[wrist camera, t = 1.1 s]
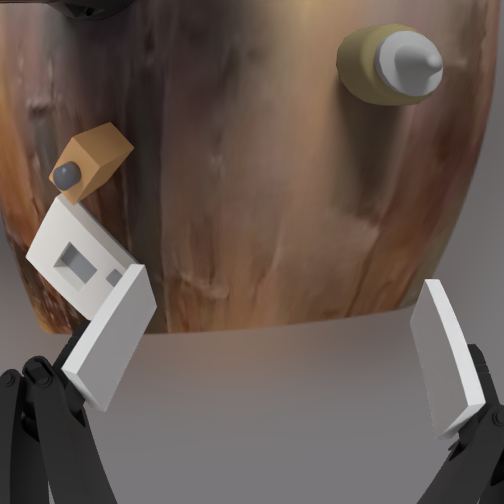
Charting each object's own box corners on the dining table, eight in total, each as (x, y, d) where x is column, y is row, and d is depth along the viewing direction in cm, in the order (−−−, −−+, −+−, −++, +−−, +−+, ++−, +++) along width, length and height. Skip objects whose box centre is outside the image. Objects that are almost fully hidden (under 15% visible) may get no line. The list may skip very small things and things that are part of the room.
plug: (84, 157, 38) (38, 184, 30) (110, 121, 35) (61, 141, 26) (107, 181, 39) (63, 213, 31) (134, 147, 36) (89, 173, 28)
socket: (35, 248, 49) (24, 258, 46) (68, 188, 41) (54, 197, 38) (99, 313, 55) (91, 325, 52) (147, 270, 47) (138, 283, 44)
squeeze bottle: (405, 104, 28) (490, 138, 13) (335, 101, 30) (366, 127, 15) (402, 35, 24) (485, 11, 9) (329, 31, 26) (354, -13, 11)
